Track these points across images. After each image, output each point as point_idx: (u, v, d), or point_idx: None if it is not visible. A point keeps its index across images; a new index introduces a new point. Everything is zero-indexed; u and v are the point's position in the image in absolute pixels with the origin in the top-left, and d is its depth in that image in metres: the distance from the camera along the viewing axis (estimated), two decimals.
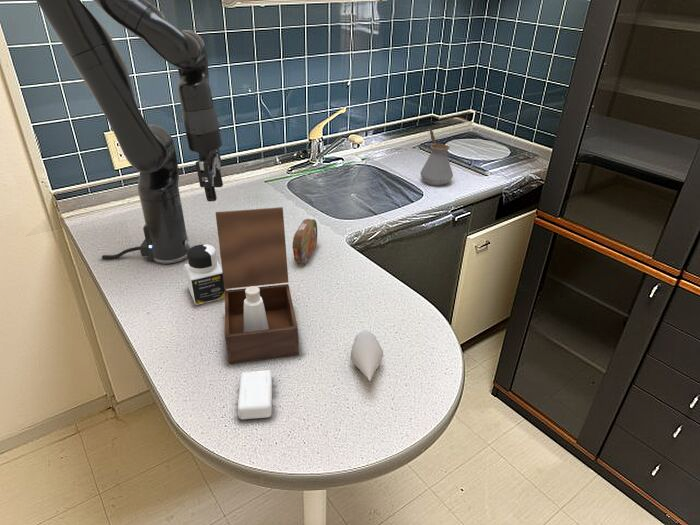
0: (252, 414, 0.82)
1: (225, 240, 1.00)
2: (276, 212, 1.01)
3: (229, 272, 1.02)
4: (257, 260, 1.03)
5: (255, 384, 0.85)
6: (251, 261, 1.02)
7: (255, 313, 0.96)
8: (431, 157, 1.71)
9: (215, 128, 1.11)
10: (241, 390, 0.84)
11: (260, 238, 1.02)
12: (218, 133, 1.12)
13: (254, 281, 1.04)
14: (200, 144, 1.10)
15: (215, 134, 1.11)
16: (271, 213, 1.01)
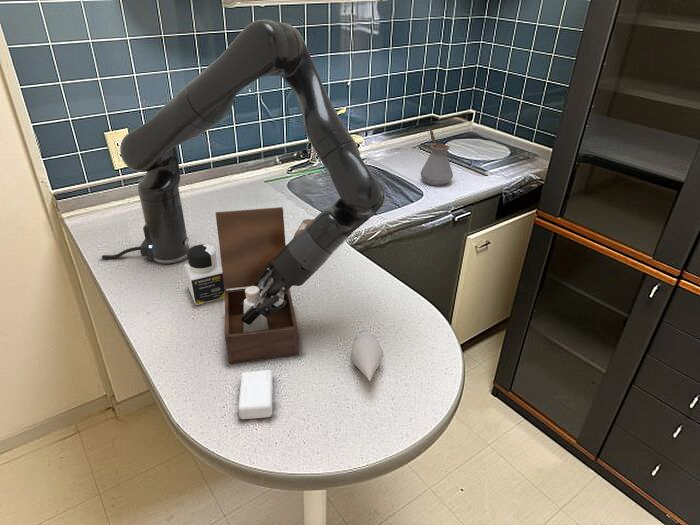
0: (253, 414, 0.82)
1: (225, 240, 1.00)
2: (276, 212, 1.01)
3: (229, 272, 1.02)
4: (257, 260, 1.03)
5: (256, 384, 0.85)
6: (251, 261, 1.02)
7: None
8: (431, 157, 1.71)
9: None
10: (242, 390, 0.84)
11: (260, 238, 1.02)
12: None
13: (254, 281, 1.04)
14: (295, 276, 0.91)
15: (312, 274, 0.94)
16: (271, 213, 1.01)
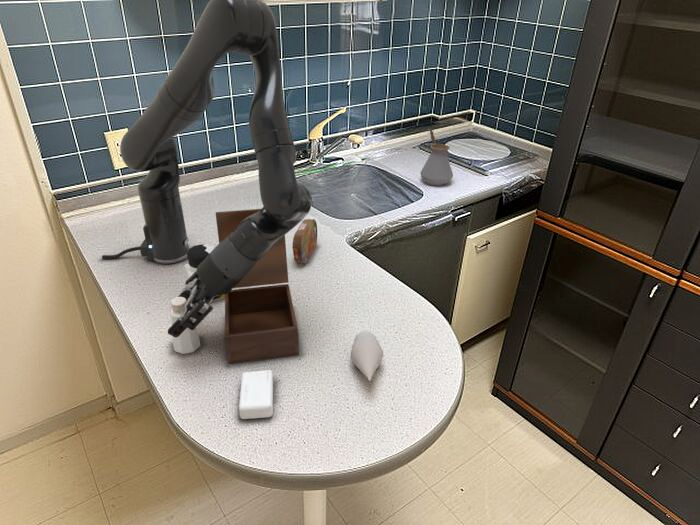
0: (253, 414, 0.82)
1: None
2: None
3: None
4: None
5: (256, 384, 0.85)
6: None
7: None
8: (431, 157, 1.71)
9: (243, 277, 0.92)
10: (242, 390, 0.84)
11: None
12: None
13: (254, 281, 1.04)
14: (217, 284, 0.89)
15: (237, 282, 0.91)
16: None
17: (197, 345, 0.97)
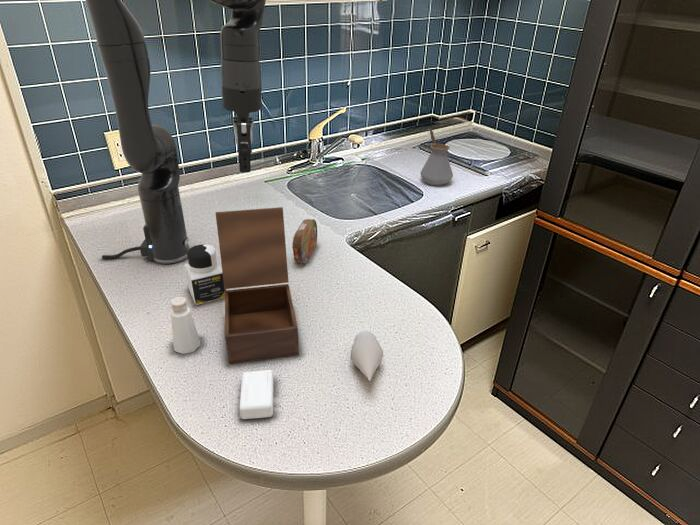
0: (254, 414, 0.82)
1: (225, 240, 1.00)
2: (276, 212, 1.01)
3: (229, 272, 1.02)
4: (257, 260, 1.03)
5: (256, 384, 0.85)
6: (251, 261, 1.02)
7: (181, 324, 0.93)
8: (431, 157, 1.71)
9: (259, 85, 0.94)
10: (243, 390, 0.84)
11: (260, 238, 1.02)
12: None
13: (254, 281, 1.04)
14: (241, 103, 0.93)
15: (259, 93, 0.95)
16: (271, 213, 1.01)
17: (197, 345, 0.97)
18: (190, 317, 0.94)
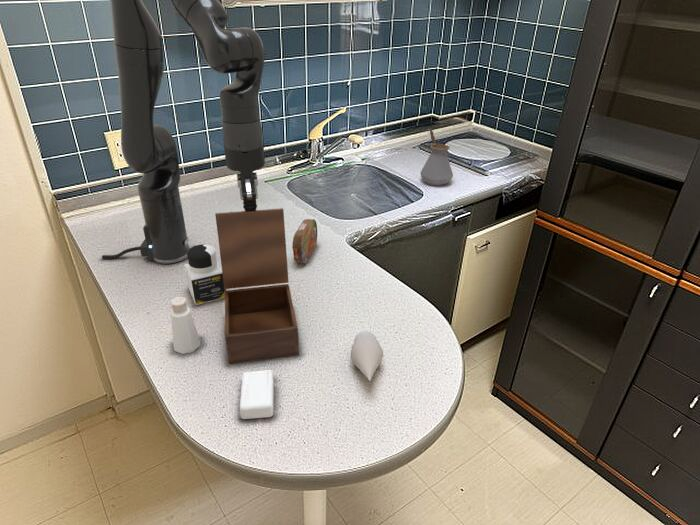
0: (254, 414, 0.82)
1: (225, 241, 0.99)
2: (276, 213, 1.00)
3: (229, 273, 1.02)
4: (258, 261, 1.02)
5: (257, 384, 0.85)
6: (251, 262, 1.02)
7: (181, 324, 0.93)
8: (431, 157, 1.71)
9: (261, 143, 0.94)
10: (243, 390, 0.84)
11: (260, 239, 1.01)
12: (263, 149, 0.96)
13: (254, 281, 1.04)
14: (245, 163, 0.93)
15: (261, 150, 0.95)
16: (271, 214, 1.00)
17: (197, 345, 0.97)
18: (190, 317, 0.94)
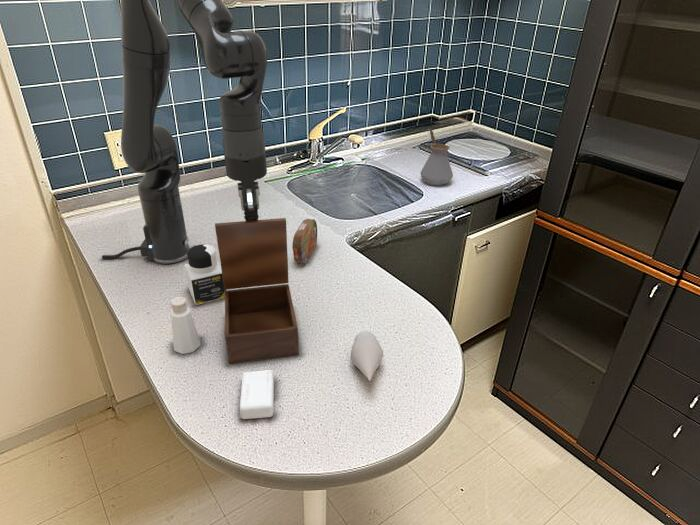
0: (254, 414, 0.82)
1: (226, 249, 0.97)
2: (279, 224, 0.96)
3: (229, 276, 1.01)
4: (258, 265, 1.01)
5: (257, 384, 0.85)
6: (252, 266, 1.01)
7: (181, 324, 0.93)
8: (431, 157, 1.71)
9: (263, 152, 0.90)
10: (243, 390, 0.84)
11: (261, 247, 0.98)
12: (265, 158, 0.92)
13: (254, 283, 1.03)
14: (246, 172, 0.89)
15: (263, 159, 0.90)
16: (274, 225, 0.96)
17: (197, 345, 0.97)
18: (190, 317, 0.94)
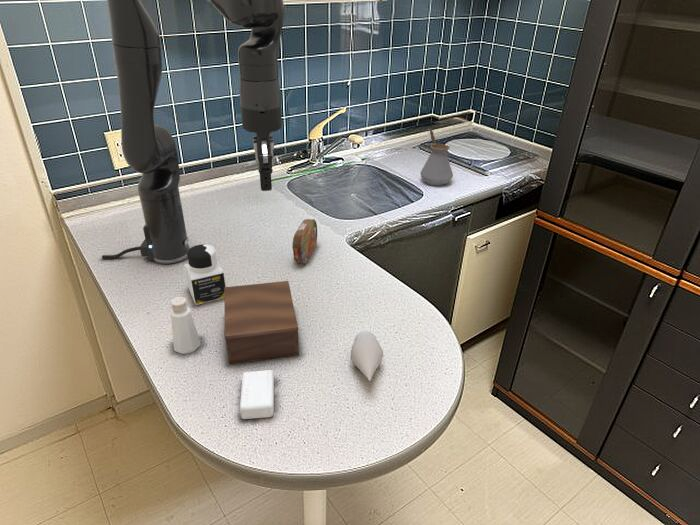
0: (254, 414, 0.82)
1: None
2: None
3: None
4: None
5: (257, 384, 0.85)
6: None
7: (181, 324, 0.93)
8: (431, 157, 1.71)
9: (279, 104, 0.92)
10: (243, 390, 0.84)
11: None
12: None
13: None
14: (262, 123, 0.91)
15: (279, 112, 0.92)
16: None
17: (197, 345, 0.97)
18: (190, 317, 0.94)
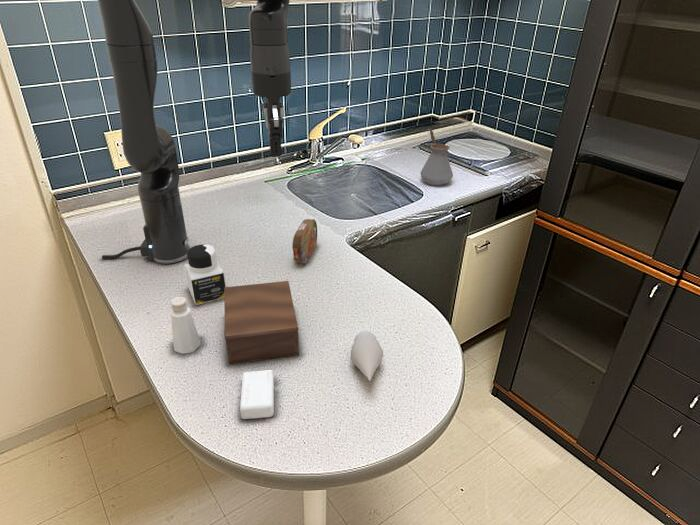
0: (254, 414, 0.82)
1: None
2: None
3: None
4: None
5: (257, 384, 0.85)
6: None
7: (181, 324, 0.93)
8: (431, 157, 1.71)
9: (289, 69, 0.94)
10: (243, 390, 0.84)
11: None
12: (290, 76, 0.96)
13: None
14: (272, 88, 0.93)
15: (288, 77, 0.95)
16: None
17: (197, 345, 0.97)
18: (190, 317, 0.94)
